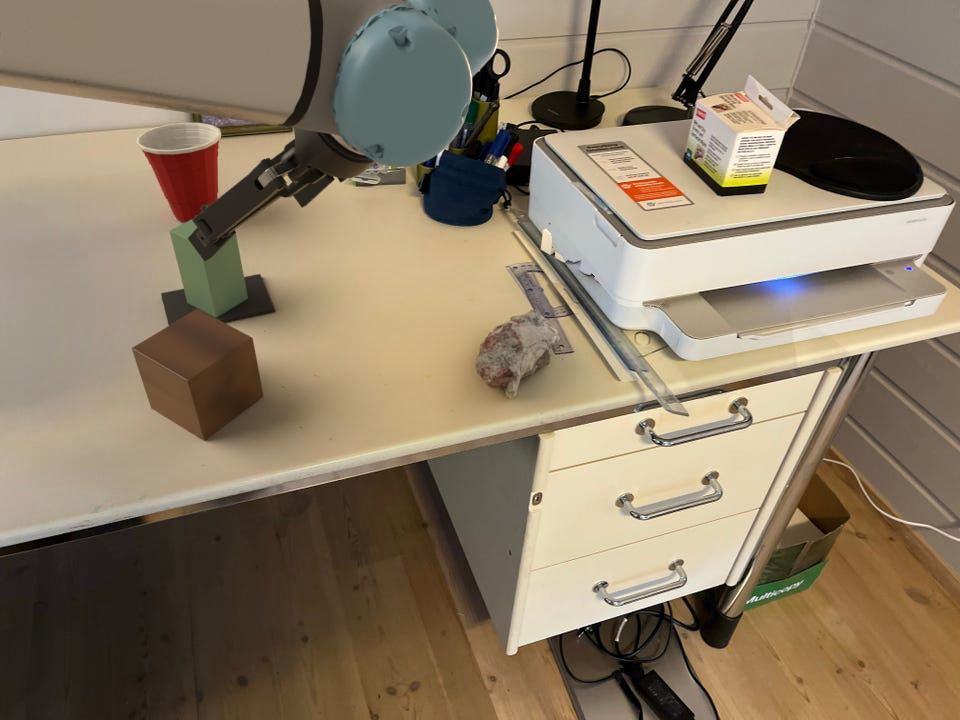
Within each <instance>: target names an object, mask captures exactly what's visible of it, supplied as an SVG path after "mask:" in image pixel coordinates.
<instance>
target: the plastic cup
mask: <svg viewBox="0 0 960 720" xmlns="http://www.w3.org/2000/svg"><path fill="white" fill-rule="evenodd" d="M221 138H222V132H221V128H219V127H217V126H215V125H213V124H209V123H202V122H178V123H169V124H165V125H160V126H157V127H153V128H150V129H148V130H145V131H143V132H142V133H140V135H138V136H137V137H136V138H135V144H136V146H137V148H139V149H140V150H141V151H142V153H143V154H144V157H145V158H146V159H147V162H148V164H149V165H150V166H151V168H152V171H153V173H154V175H155V178H156V180H157V182H158V184H159V186H160V189H161V190H162V193H163V195H164V198H165V200H167V202H168V205H169V207H170V210H171V211H172V214H173V216H174V217H175V219H176V220H177V221H178V222H180V223H182V224H184V223H186V222H188V221H190V220H192V219H193V218H195V216H196V215H197V214H200V213H201V212H202V210H201V209H200V207H201V206H203V205H209V206H210V205H211V204H212V203H213V202H215V201H216V200H217V199H218V198H219V197H218V194H219V164H218V163H219V162H218V160H219V148H220V147H219V143H220V140H221Z"/></svg>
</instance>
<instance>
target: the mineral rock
mask: <svg viewBox="0 0 960 720" xmlns="http://www.w3.org/2000/svg"><path fill="white" fill-rule="evenodd" d="M560 339H561V337H560V335H559V331H558V330H557V329H556V327H552V326H551V325H550V324H549V321H548V320H547V319H546V318H545V317H544V316H543V315H542V314H541V313H540V310H539V309H538V308H536V309H530V310H529V311H528V312H526V313H524V314H520V315H514V316H511V317H510V318H509V320H508V321H506V322H504V323H502V324H499V325H497V326H496V327H494V329H493V330H492V331H489V332H488V334H487V336H486V337H484V341H483V342H482V343H481V344H480V345H479V352H478V355H477V356H476V358H475V361H474V367H475V372H476V374H477V375H478V376H479V377H480V379H481V380H482V381H484V382H486V384H487V386H488V387H489V388H493V389H495V388H496V389H498V388H501V389H502V390H503V391H504V393H505V396H506V398H510V399H512V400H514V398H515V397H516V396H517V394H518V392H519V391H518V390H519V386H520V383H521V379H524V378H526V377H529V376H531V375H533V374H535V373H536V371H537V370H538V369H540V368H543V367H545V366H549V365H550V364H551V359H552V355H551V349H552V348H553V346H554V345H555V344H556V343H558V342H559V341H560Z"/></svg>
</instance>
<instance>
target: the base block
mask: <svg viewBox="0 0 960 720" xmlns="http://www.w3.org/2000/svg"><path fill="white" fill-rule="evenodd" d="M255 348H256V347H255V342H254V338H253V337H252V336H250V335H248V334H246V333H245V332H243V331H241V330H239V329H238V328H235V327H233V326H231V325H229V324H227V322H225V323H224V322H222V321H220V320H218V319H216V318H214V317H212V316H210V315H208V314H206V313H204V312H203V311H201V310H199V309H196V310H194V311H193V312H191V313H189V314H188V315H186V316H184V317H183V318H181V319H179V320H178V321H176V322H174V323H173V324H171V325H167V326H166V327H165V328H163V329H161V330H159V331H158V332H156V333H154V334H153V335H151V336H149V337H148V338H146V339H144V340H143V341H140V342H139V343H138V344H136V345H135V346H133V347H131V351H132V354H133V357H134V361H135V363H136V366H137V369H138V372H139V376H140V378H141V381H142V382H141V383H142V385H143V388H144V391H145V394H146V397H147V400H148V403H149V406H150V408H151V410H154V411H155V412H157V413H158V414H160V415H161V416H164V417H165V418H167V419H168V420H169V421H172V422H173V423H175V424H176V425H178V426H179V427H181V428H183V429H184V430H186V431H188V432H189V433H190V434H192V435H194V436H196V437H197V438H199V439H200V440H202V441H205V442H206V440H208V439H209V438H210V437H212V436H213V435H214V434H216V433H217V432H218V431H220V430H221V429H223V428H224V427H225V426H226V425H228V424H229V423H230V422H232V421H233V420H234V419H236V418H238V416H240V415H241V414H242V413H243V412H245V411H246V410H248V409H249V408H250V407H252V406H253V405H255V404H256V403H257V402H258V401H260V400H261V399H262V398H264V391H263V386H262V381H261V374H260V370H259V364H258V357H257V353H256V349H255Z"/></svg>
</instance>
